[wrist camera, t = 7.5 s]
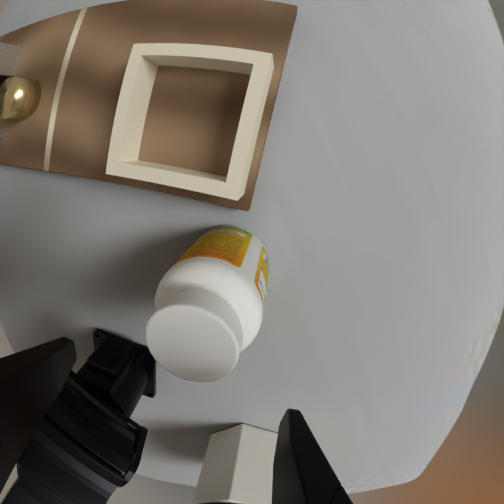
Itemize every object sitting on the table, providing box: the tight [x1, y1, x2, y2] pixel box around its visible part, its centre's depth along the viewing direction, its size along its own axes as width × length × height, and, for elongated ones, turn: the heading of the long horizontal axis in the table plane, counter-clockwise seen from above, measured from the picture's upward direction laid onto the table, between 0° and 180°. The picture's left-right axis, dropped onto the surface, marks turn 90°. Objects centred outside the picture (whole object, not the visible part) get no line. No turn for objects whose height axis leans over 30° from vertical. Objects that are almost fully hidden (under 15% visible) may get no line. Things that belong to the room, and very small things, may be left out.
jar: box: [193, 424, 278, 504], centre depth 21 cm, size 9×8×12 cm
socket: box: [106, 43, 274, 201], centre depth 15 cm, size 8×8×2 cm
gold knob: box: [0, 77, 41, 119], centre depth 15 cm, size 4×4×3 cm
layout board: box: [0, 0, 297, 211], centre depth 16 cm, size 14×33×1 cm, turn 77°
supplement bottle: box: [145, 225, 269, 382], centre depth 16 cm, size 5×5×10 cm
